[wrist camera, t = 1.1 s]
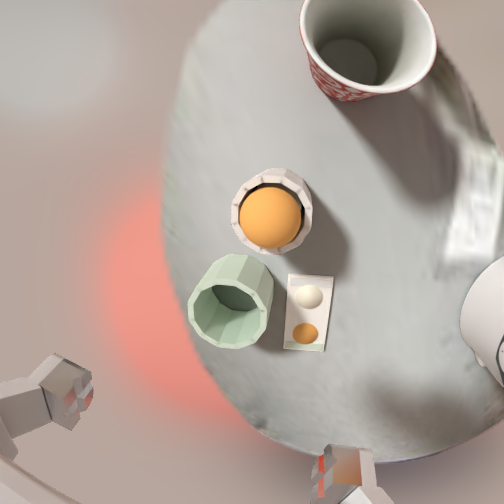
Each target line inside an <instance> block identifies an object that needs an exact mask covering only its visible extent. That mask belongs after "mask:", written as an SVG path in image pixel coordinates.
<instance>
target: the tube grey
mask: <svg viewBox="0 0 504 504" xmlns="http://www.w3.org/2000/svg"><path fill="white" fill-rule="evenodd" d="M263 182H264V183H263ZM261 183H262V184H261ZM259 184H261V185H259ZM257 185H259V186H258V187H257V188H256V189H255V191H257V190H259V189H262V188H267V187H274V188H279V189H282V190H284V191H286V192H287V193H289V194H290V195H291V196H292V197H293V198H294V199H295V201H296V202H297V204H298V206H299V209H300V213H301V208H302V204H303V206H304V211H303V212H302V214H301V224H300V227H299V230H298V232H297V234H296V236H295V237H294V238H293V239H292V240H291V241H290V242H289V243H287V244H286V245H284V246H282V247H278V248H273V249H268V248H262V247H259V246H257V245H255V244H253V243H252V242H251V241H250V240H248V238H247V237H246V236H245V235H244V233H243V231H242V229H241V226H240V210H241V207H242V205H243V203H244V201H245V200H246V198H247V197H248V196H249V195H250V194H251V192H252V190H253V189H254V187H255V186H257ZM255 191H254V192H255ZM301 202H302V204H301ZM312 208H313V207H312V199H311V193H310V192H309V190H308V188H307V186H306V184H305V182H304V180H303V178H301V177H299V176H298V175H296V174H295V173H293V172H292V171H290V170H288V169H277V168H269V169H267V170H265V171H263V172H262V173H260V174H258V175H256V176H254V177H253V178H251V179H250V180H249V181H247V182H246V183H244V184H243V185H242V186H241V188H240V189H239V191H238V193H237V195H236V196H235V198H234V200H233V201H232V203H231V225H232V227H233V228H234V230H235V232H236V234H237V235H238V237H239V239H240V241H241V242H242V243H243V244H245V245H246V246H248V247H250V248H251V249H253V250H254V251H256V252H258V253H259V254H273V255H281V254H284V253H286V252H288V251H290V250H292V249H294V248H296V247H299V246H300V244H301V243H302V242H303V240H304V239H305V237H306V236H307V234H308V233H309V231H310V230H311V224H312Z"/></svg>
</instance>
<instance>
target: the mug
mask: <svg viewBox="0 0 504 504" xmlns="http://www.w3.org/2000/svg"><path fill="white" fill-rule="evenodd" d="M299 27H300V34H301V38H302V41H303V44H304V46H305V48H306V50H307V54H308V59H309V64H310V70H311V74H312V76H313V79H314V81H315V82H316V84H317V85H318V87H319V88H320V89H321V90H322V91H323V92H324V93H326V94H327V95H329V96H331V97H332V98H334V99H337V100H341V101H346V102H353V101H359V100H363V99H365V98H368V97H373V96H376V95H379V94H391V93H396V92H400V91H404V90H406V89H409V88H411V87H413V86H415V85H416V84H418V83H419V82H420V81H421V80H423V79H424V78H425V76H426V75H427V74H428V73H429V71H430V69H431V68H432V66H433V64H434V61H435V57H436V52H437V38H436V33H435V29H434V26H433V23H432V21H431V19H430V17H429V15H428V13H427V11H426V10H425V8H424V7H423V6H422V5H421V3H420V2H419V1H418V0H305V1H304V3H303V5H302V8H301V11H300V18H299Z"/></svg>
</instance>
